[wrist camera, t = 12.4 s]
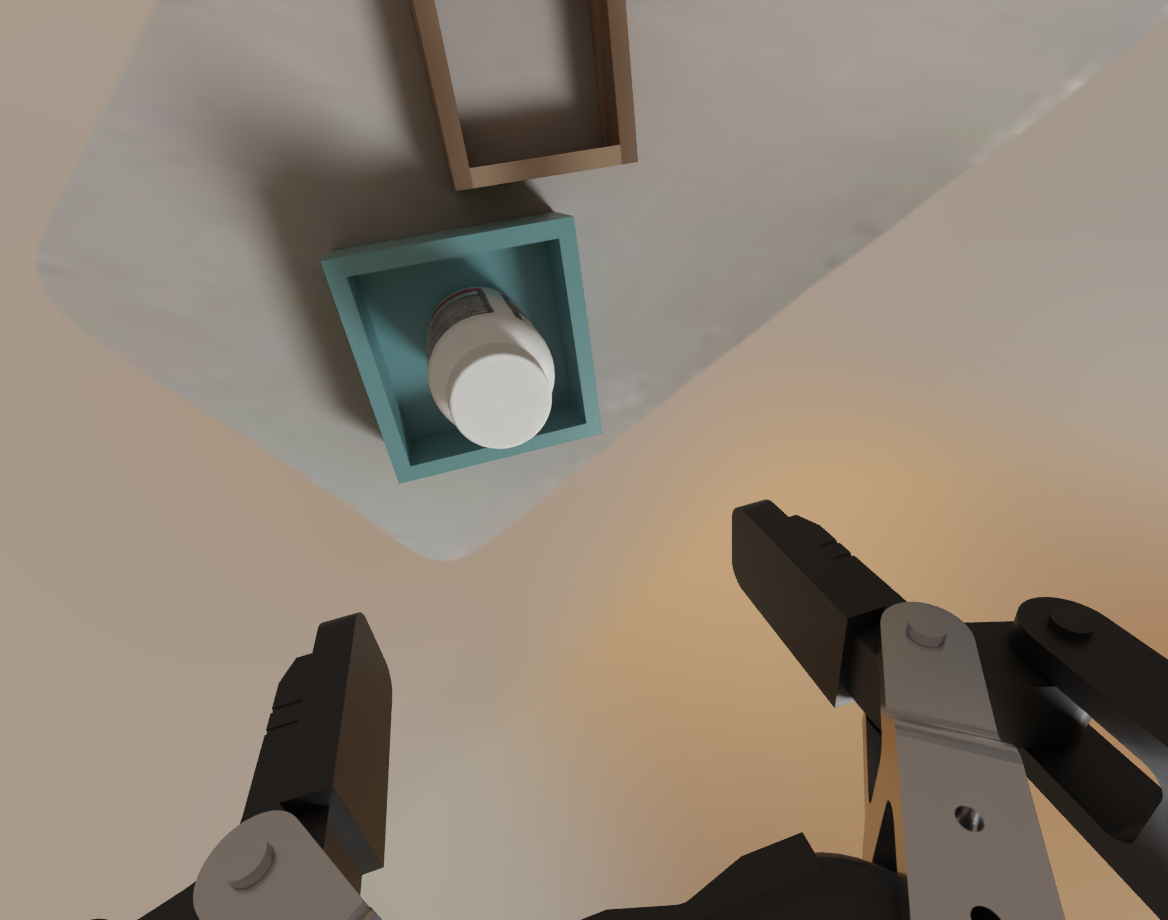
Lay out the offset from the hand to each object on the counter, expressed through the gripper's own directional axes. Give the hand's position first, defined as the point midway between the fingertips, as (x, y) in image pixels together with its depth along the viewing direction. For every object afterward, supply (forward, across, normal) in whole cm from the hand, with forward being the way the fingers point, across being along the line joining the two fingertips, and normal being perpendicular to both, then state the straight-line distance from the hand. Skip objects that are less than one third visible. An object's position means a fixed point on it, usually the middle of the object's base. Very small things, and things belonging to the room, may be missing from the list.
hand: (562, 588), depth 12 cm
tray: (+21, 0, 0) cm, 21 cm away
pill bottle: (+21, 0, 0) cm, 21 cm away
